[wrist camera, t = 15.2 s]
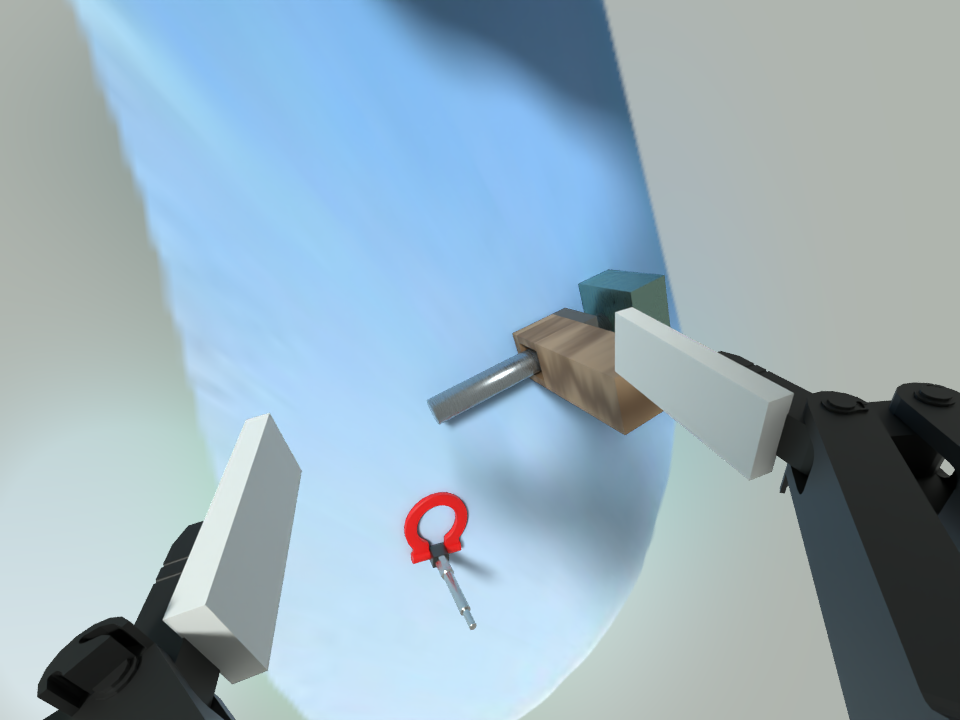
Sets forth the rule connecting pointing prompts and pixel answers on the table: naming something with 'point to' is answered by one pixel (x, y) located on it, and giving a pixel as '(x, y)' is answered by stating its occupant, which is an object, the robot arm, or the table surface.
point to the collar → (578, 316)
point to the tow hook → (440, 551)
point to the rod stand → (597, 298)
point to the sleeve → (585, 371)
